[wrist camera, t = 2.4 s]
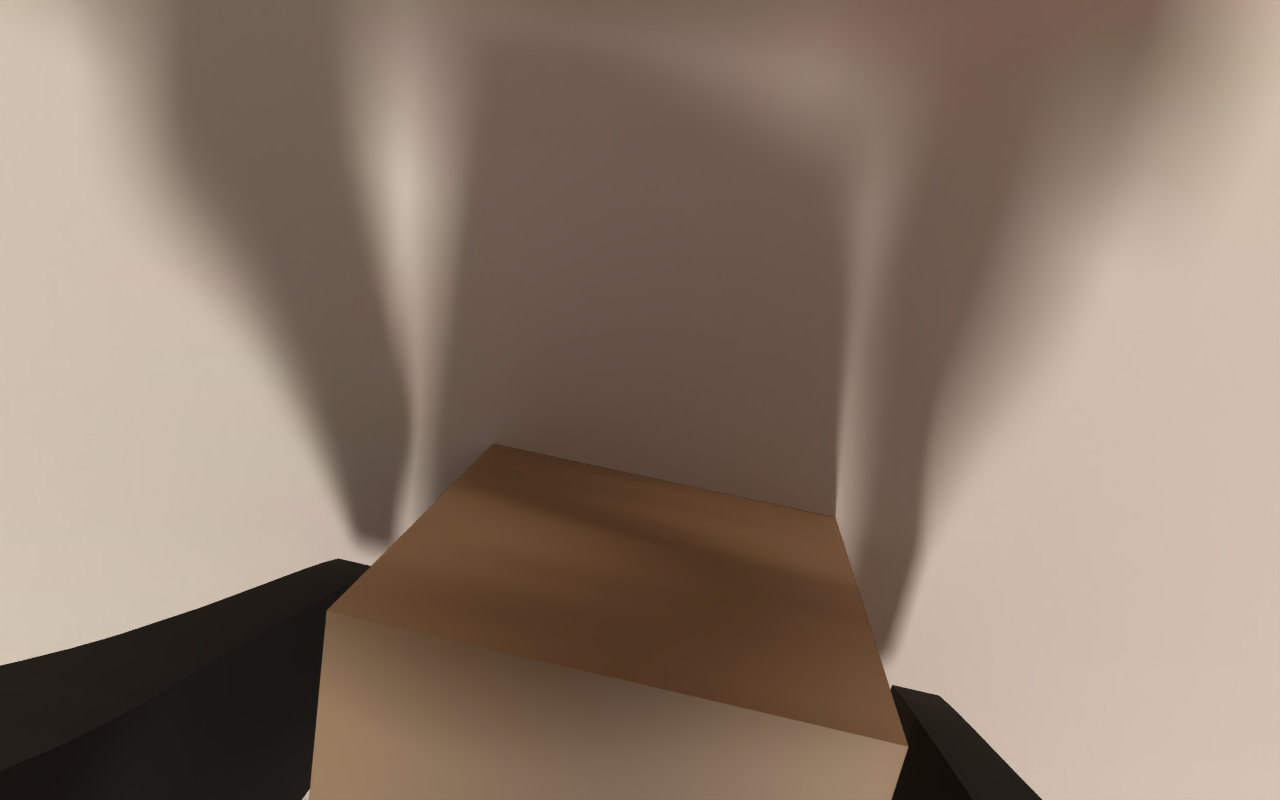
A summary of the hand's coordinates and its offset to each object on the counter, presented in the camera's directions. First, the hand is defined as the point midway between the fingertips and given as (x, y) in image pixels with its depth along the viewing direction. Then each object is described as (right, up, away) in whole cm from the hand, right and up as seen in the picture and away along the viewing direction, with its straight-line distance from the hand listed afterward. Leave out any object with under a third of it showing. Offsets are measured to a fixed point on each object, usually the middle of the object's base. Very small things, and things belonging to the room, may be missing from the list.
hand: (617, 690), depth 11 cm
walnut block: (0, 0, +1) cm, 2 cm away
